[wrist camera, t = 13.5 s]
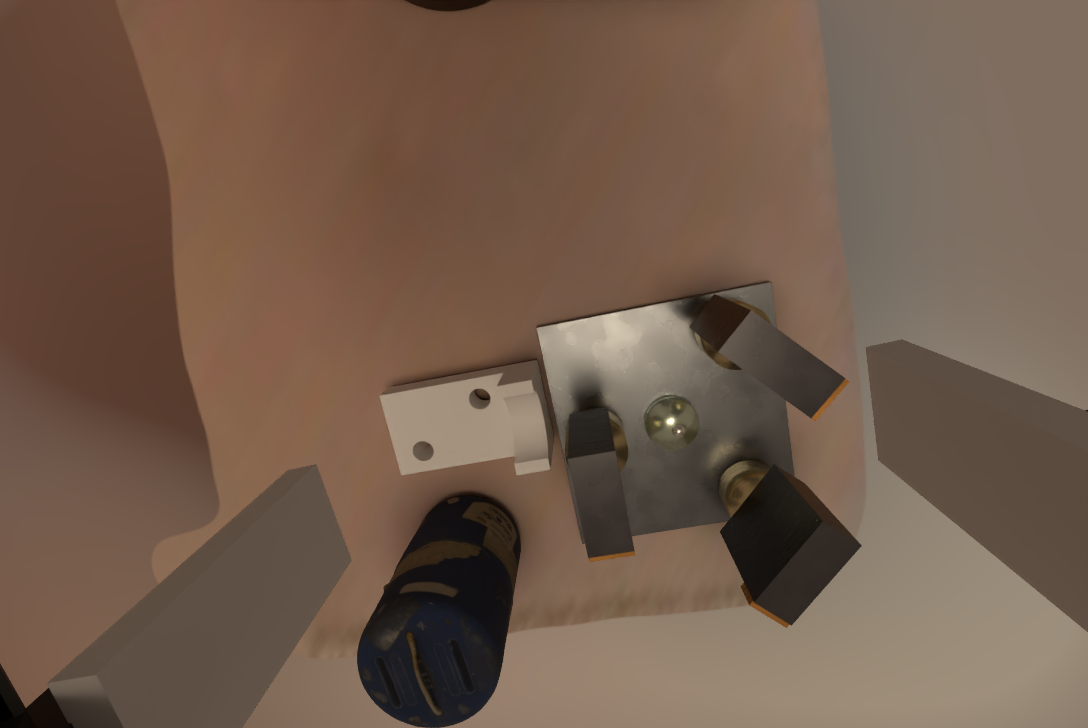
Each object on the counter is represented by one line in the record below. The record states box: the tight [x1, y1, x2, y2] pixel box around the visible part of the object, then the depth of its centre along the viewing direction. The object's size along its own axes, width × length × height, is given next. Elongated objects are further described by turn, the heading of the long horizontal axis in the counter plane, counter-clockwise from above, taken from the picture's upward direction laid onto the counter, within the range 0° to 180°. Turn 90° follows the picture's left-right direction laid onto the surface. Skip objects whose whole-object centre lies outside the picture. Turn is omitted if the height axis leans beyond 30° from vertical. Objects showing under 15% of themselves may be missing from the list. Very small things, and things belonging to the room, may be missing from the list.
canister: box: [357, 496, 521, 728], centre depth 44 cm, size 10×10×18 cm
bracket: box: [380, 360, 554, 475], centre depth 46 cm, size 13×7×8 cm, turn 102°
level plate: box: [537, 281, 794, 544], centre depth 48 cm, size 20×19×2 cm
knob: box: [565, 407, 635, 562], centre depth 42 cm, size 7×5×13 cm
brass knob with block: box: [719, 460, 861, 628], centre depth 42 cm, size 7×5×13 cm
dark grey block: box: [689, 294, 849, 421], centre depth 39 cm, size 7×5×13 cm
